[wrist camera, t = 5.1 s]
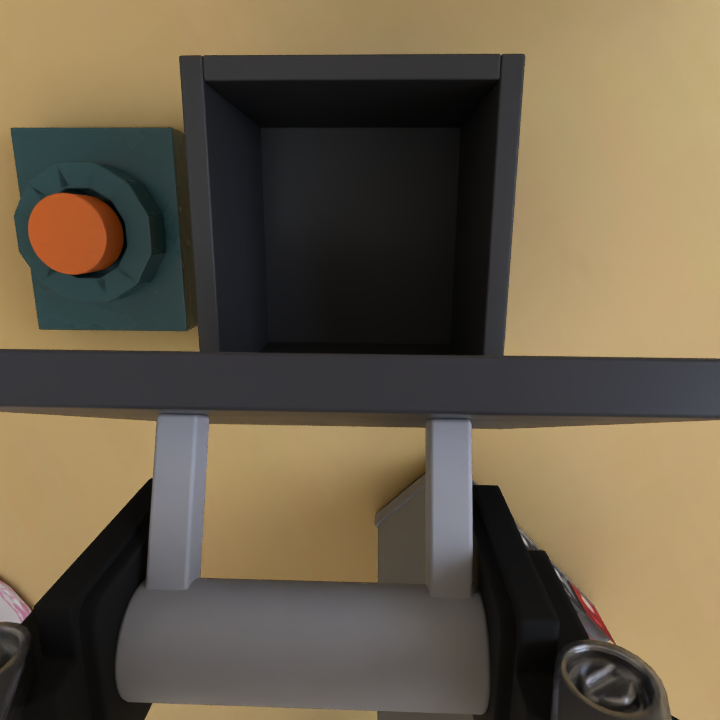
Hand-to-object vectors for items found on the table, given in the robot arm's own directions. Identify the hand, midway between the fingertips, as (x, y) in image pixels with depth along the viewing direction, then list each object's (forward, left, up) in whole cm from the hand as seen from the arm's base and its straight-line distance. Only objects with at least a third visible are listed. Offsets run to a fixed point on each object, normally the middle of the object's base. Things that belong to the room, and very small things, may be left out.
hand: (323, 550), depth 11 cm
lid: (-2, 0, -4) cm, 4 cm away
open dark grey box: (-6, 0, -20) cm, 21 cm away
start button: (-6, -13, -16) cm, 22 cm away
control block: (-6, -13, -20) cm, 24 cm away
